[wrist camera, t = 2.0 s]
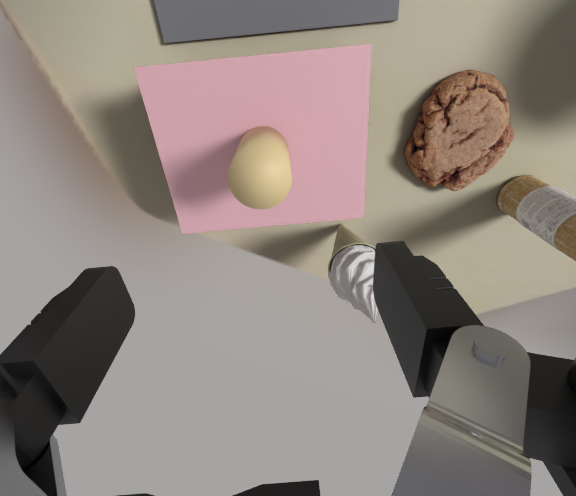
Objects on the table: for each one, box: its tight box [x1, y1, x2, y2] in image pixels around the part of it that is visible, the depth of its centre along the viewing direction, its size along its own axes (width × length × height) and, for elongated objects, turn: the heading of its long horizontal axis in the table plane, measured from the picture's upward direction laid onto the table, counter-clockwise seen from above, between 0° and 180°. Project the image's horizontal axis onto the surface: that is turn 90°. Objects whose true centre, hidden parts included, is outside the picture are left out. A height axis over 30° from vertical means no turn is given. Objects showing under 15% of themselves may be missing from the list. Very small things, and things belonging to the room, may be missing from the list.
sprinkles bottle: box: [497, 175, 576, 261], centre depth 29 cm, size 5×5×13 cm
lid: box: [134, 44, 372, 234], centre depth 21 cm, size 12×15×8 cm
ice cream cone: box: [328, 224, 377, 323], centre depth 29 cm, size 5×5×15 cm
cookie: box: [404, 70, 514, 191], centre depth 30 cm, size 10×11×3 cm
